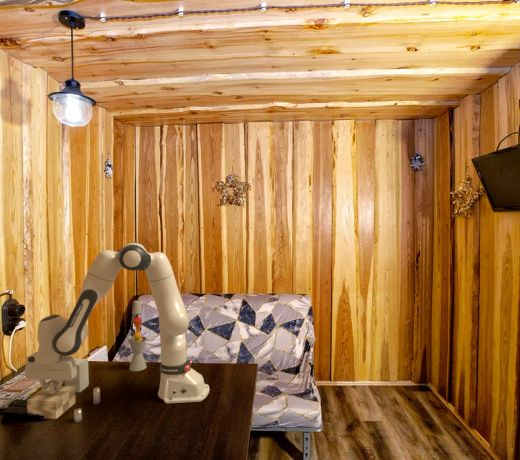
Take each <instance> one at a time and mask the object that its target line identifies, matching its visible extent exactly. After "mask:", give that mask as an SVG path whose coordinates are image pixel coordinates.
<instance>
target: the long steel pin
mask: <svg viewBox="0 0 520 460" xmlns="http://www.w3.org/2000/svg"><path fill="white" fill-rule="evenodd" d="M48 382H49V383H48V385H49V396H53V395H55V394H56V393H57V390H55V389H56V388H55V386H56V385H58V380H49V381H48Z"/></svg>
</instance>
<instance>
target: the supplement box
mask: <svg viewBox="0 0 520 460" xmlns="http://www.w3.org/2000/svg"><path fill="white" fill-rule="evenodd" d="M74 359H75V361H76V369H77V376H76V377H75V378H74V379H72V380H64V386H73V387H75V393H81V392H83V390H85V389H86V388H88V386H89V385H90V381H89V380H90V379H89V376H90V375H89V359H88V358H74Z"/></svg>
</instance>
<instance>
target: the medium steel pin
mask: <svg viewBox="0 0 520 460" xmlns="http://www.w3.org/2000/svg"><path fill="white" fill-rule="evenodd" d="M92 391H93V392H92V393H93V394H92V395H93V399H92V400H93V405H98V404H100V403H101V388H100V387H99V386H98V387H97V386H96V387H94V388H93V390H92Z"/></svg>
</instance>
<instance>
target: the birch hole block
mask: <svg viewBox="0 0 520 460" xmlns="http://www.w3.org/2000/svg"><path fill="white" fill-rule="evenodd" d="M75 404H76V392H75V387H73V386H65V385H62V388H61V389H60V390H57V393H56V394H55V395H53V396H49V384H48V389H46V390H43V389H42V388H41V390H39V391H38V392H36V393H35V394H34V395H32V396H31V397H29V398H28V399H26V412H27V413H33V414H40V415H43V416H44V418H43V419H48V420H49V419H50V420H56V419H58V418H59V417H60V416H62V415H64V413H65V412H67V411H68V410H69V409H70V408H71V407H73V405H75Z"/></svg>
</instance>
